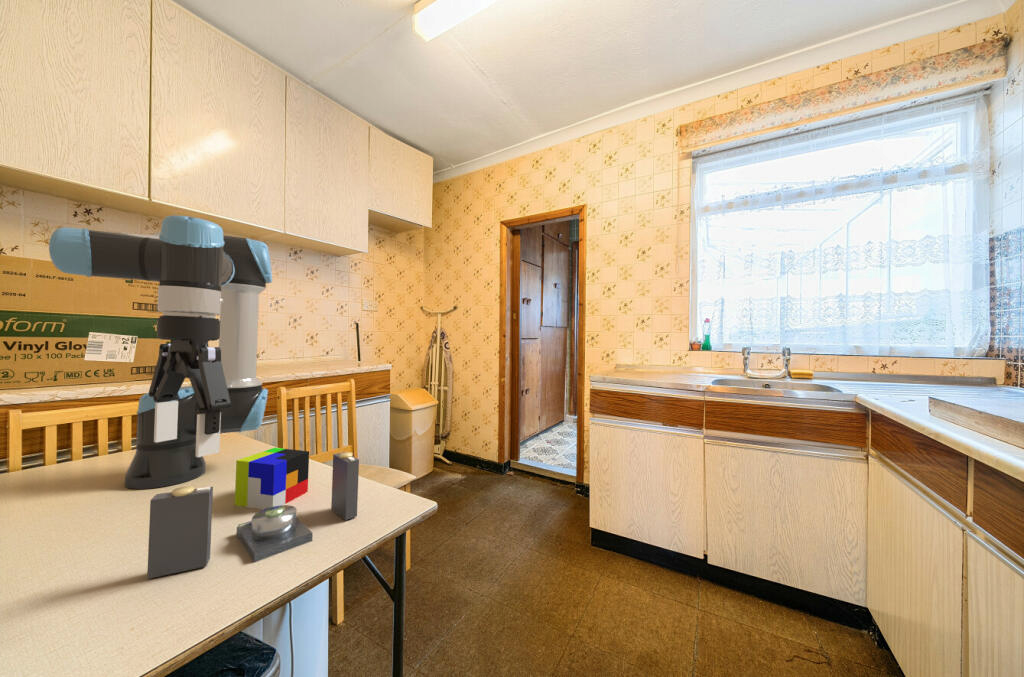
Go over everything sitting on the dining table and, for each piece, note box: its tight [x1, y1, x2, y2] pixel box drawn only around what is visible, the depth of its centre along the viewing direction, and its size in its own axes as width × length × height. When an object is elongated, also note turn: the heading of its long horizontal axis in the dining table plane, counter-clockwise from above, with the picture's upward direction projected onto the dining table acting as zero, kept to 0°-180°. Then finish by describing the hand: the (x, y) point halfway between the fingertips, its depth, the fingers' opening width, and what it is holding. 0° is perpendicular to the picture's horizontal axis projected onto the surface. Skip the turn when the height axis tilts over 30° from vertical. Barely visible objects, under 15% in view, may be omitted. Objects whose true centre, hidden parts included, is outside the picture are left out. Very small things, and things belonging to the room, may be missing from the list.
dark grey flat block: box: [146, 485, 214, 580], centre depth 57 cm, size 7×3×13 cm, turn 119°
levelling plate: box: [235, 504, 313, 563], centre depth 67 cm, size 12×9×5 cm
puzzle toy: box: [234, 447, 310, 510], centre depth 83 cm, size 10×10×10 cm
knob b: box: [330, 451, 360, 521], centre depth 77 cm, size 7×3×13 cm, turn 49°
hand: (185, 447), depth 57 cm, fingers open, 13 cm apart
